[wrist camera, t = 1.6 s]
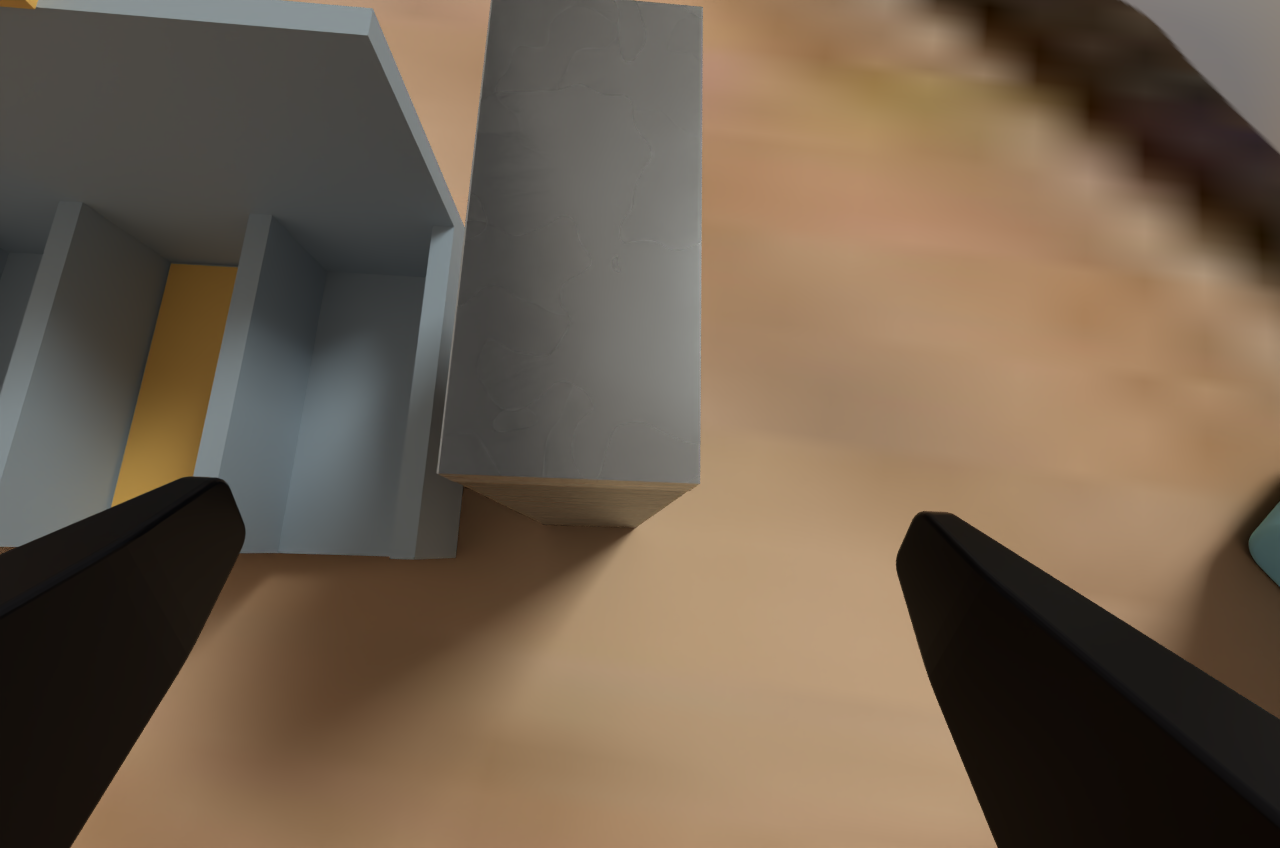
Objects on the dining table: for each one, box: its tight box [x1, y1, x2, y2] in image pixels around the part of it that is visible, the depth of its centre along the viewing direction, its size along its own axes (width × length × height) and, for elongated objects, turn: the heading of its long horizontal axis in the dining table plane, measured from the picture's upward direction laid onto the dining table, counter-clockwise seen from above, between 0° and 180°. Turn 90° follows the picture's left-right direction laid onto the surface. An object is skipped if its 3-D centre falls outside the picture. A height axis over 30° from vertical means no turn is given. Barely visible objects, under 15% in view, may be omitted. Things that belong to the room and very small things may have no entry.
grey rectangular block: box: [437, 0, 703, 528], centre depth 13 cm, size 7×3×12 cm, turn 178°
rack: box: [0, 0, 465, 560], centre depth 12 cm, size 10×16×12 cm, turn 88°
